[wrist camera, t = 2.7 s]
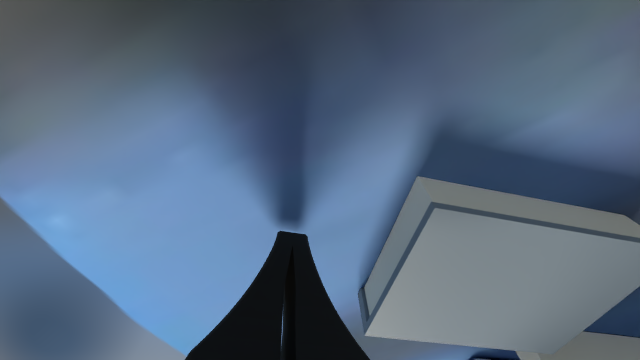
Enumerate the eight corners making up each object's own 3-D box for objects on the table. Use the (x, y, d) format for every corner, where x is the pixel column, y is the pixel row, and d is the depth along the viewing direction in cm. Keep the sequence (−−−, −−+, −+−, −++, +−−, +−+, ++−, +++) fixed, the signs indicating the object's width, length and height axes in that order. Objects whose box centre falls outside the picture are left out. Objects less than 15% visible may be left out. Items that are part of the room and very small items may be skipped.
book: (521, 308, 19) (553, 354, 17) (357, 288, 18) (364, 335, 15) (620, 208, 15) (684, 250, 12) (411, 169, 13) (434, 207, 11)
